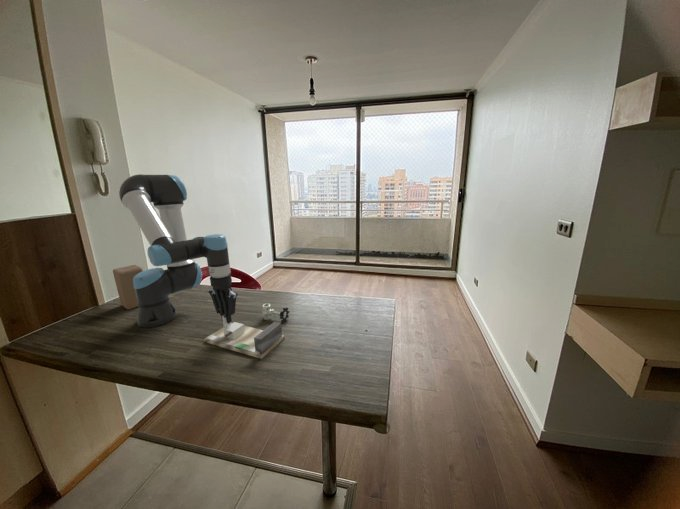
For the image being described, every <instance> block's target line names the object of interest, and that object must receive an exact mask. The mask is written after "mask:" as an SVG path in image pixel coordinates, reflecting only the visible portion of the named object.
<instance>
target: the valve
mask: <svg viewBox="0 0 680 509" xmlns="http://www.w3.org/2000/svg"><path fill="white" fill-rule="evenodd" d="M261 312H262V317H263V320H266V321H268V320H272V317H275V316H277V317H279V319H280V323H284V322H287V321H288V319H289V317H290V316H289V313H290V310H289V308H288V307H283V308H282V311H278V310H277V311H276V310H275V309H273V308H271V303H264V304H262V311H261Z"/></svg>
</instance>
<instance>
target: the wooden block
mask: <svg viewBox="0 0 680 509" xmlns="http://www.w3.org/2000/svg"><path fill="white" fill-rule="evenodd" d="M142 271H144V270H143V268H142V267H140V266H139V265H136V264H133V265H127V266H123V267H122V266H121V267H118V268H114V269H112V273H113V278H114V282H115V285H116V290H117V292H118V293H117V294H118V297H119V301H120V305H121V306H122V307H124V308H125V309H126V310H132V309H134V308H139V306H138V301H137V297H136V293H135V289H134V285H133V278H134V276H135V275H137V274H138V273H140V272H142Z"/></svg>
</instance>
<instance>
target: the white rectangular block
mask: <svg viewBox="0 0 680 509" xmlns="http://www.w3.org/2000/svg"><path fill="white" fill-rule="evenodd" d="M244 326H245V324H244V323H241V322H236V321H234V322H232V324H231V325H229V326H228V327H226V328H224V329H223V331H224V337H226V338H230V339H233V340H234V339H236V338H237V337H239V336H240V335H241V334H243V333H244V332H245V328H244Z"/></svg>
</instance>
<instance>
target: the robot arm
mask: <svg viewBox="0 0 680 509" xmlns="http://www.w3.org/2000/svg"><path fill="white" fill-rule="evenodd" d="M118 196H119V199H120V201H121V203H122V205H123V206H124V207H125V209H127V210H129V211H130V213H131V214H132V217H133V218H134V220H135V221H136V223H137V224H138V227H139V228H140V229H141V232H142V233H143V235H144V236H145V239H146V241H147V242H148V243H149V245H150V246H149V247H148V248H147V256H148V259H149V262H150V263H151V265H152V266H154V267H155V268H154V267H153V268H149V269H148V268H147V269H146V270H143V271H142V272H140V273H138V274H137V275H135V276H134V278H133V285H134V289H135V293H136V297H137V301H138V311H137V317H136V322H137V326H138V327H140V328H153V327H158V326H162V325H165V324H167V323H170V322H172V321H173V320H174V319H176V318H177V316H178V313H177V310H176V308H175V306H174V304H172V302H171V300H170V295H172V294H175V293H179V292H182V291H183V292H184V291H186V290H190V289H192V288H195V287H198V286H199V285H200V284H201V282H202V279H203V272H202V269H201V266H200V264H199V263H196V261H195V260H196V259H200V258H206V261H207V263H206V264H207V266H208V267H207V268H208V274H209V276H210V277H209V282H210V286H211V287H212V289H210V290H208V293H209V295H210V297H211V300H212V303H213V306H214V309H215V312H216V314H219V315H220V317H221V322H222V323H223V324H222V325H223V327H224V328H226V327H228V326H229V325H231V322H232V323H233V321H232V316H233V315H235V313H236V304H237V303H236V302H237V298H238V295H239V293H238V292H234V291H233V289H232V286H231V285H232V283H233V280H232V274H231V273H232V271H231V265H230V258H229V249H228V241H227V238H226V236H225V235H224V234H216V233H215V234H209V235H206V236H196V237H193V238H191V239H187V234H186V229H185V224H184V219H183V218H184V217H183V214H182V207H183V206H184V201H186V200H187V198H188V193H187V188H186V186H185V184H184V181H183V180H182V179H181V178H180V177H179V176H177V175H173V174H143V173H142V174H140V173H139V174H134V175H131V176H129V177H127V178H126V179H124V181H123V182H122V183H121V185H120V187H119V191H118ZM152 203H153V204H152ZM155 208H156V209H157V210H158V212H159V213H158V212H157V211H156V209H155ZM162 266H166V267H167V269H164V268H162Z"/></svg>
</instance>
